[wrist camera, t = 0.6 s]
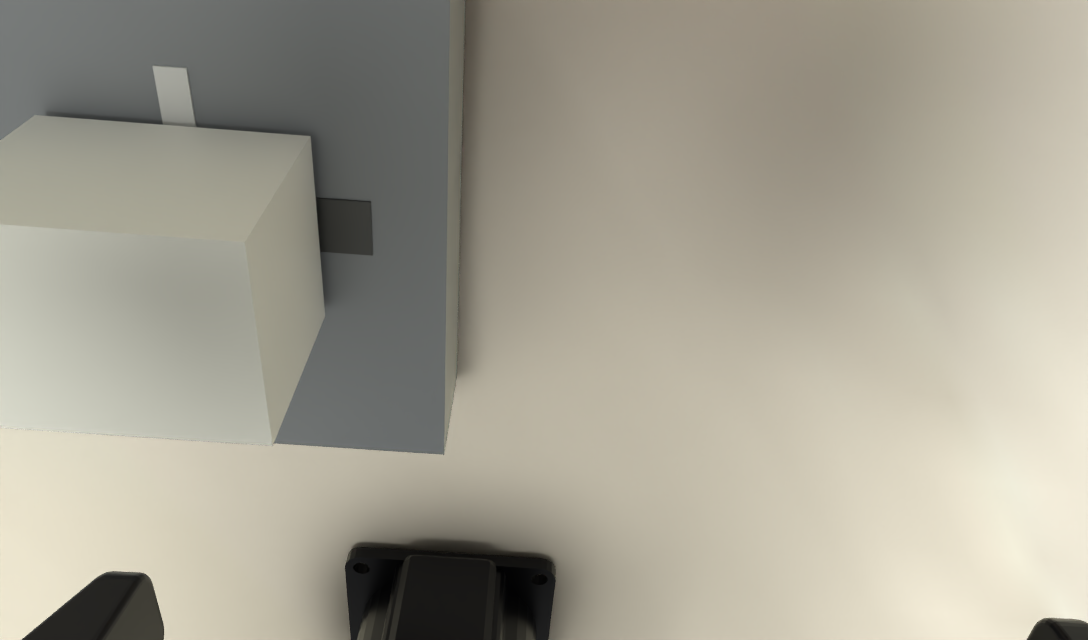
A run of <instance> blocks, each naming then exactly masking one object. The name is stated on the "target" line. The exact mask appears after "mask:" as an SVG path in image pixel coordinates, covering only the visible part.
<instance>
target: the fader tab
mask: <svg viewBox="0 0 1088 640" xmlns="http://www.w3.org/2000/svg"><path fill="white" fill-rule="evenodd" d="M324 318H325V307H324V295H323V283H322V271H321V258H320V246H319V234H318V221H317V209H316V197H315V185H314V172H313V160H312V148H311V136H303V135H290V134H277V133H264V132H251V131H238V130H225V129H211V128H198V127H185V126H172V125H159V124H146V123H133V122H120V121H107V120H94V119H81V118H68V117H54V116H41V115H34V116H33V117H32V118H30V119H29V120H28V121H26V122H25V123H23V124H22V125H21V126H19V127H18V128H17V129H15V130H14V131H12V132H11V133H10V134H8V135H7V136H6V137H4V138H3V139H2V140H0V428H10V429H25V430H40V431H55V432H70V433H85V434H101V435H116V436H131V437H146V438H161V439H176V440H191V441H206V442H221V443H236V444H251V445H266V446H273V444H274V441H275V439H276V436H277V434H278V431H279V429H280V427H281V424H282V422H283V419H284V417H285V414H286V412H287V409H288V407H289V404H290V402H291V399H292V397H293V394H294V392H295V389H296V387H297V384H298V382H299V380H300V377H301V375H302V372H303V370H304V367H305V365H306V362H307V360H308V357H309V355H310V352H311V350H312V347H313V345H314V342H315V340H316V337H317V335H318V332H319V330H320V328H321V325H322V323H323V320H324Z"/></svg>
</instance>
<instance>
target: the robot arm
mask: <svg viewBox="0 0 1088 640" xmlns="http://www.w3.org/2000/svg"><path fill="white" fill-rule="evenodd" d="M364 563H365V564H364ZM345 572H346V584H347V596H348V608H349V620H350V633H351V640H548V637H549V629H550V621H551V613H552V605H553V597H554V589H555V581H556V570H555V566H554V564H553V563H552V562H550V561H548V560H546V559H541V558H526V557H510V556H494V555H478V554H463V553H447V552H431V551H415V550H400V549H384V548H368V547H359V548H355V549H352V550H351V551H350V552H349V554H348V558H347V561H346V566H345ZM539 574H540V575H539ZM22 640H164V626H163V621H162V617H161V613H160V610H159V606H158V602H157V599H156V595H155V591H154V588H153V584H152V581H151V579H150V578H149V577H148V576H147V575H146V574H144V573H137V572H117V571H112V572H106V573H104V574H102V575H100V576H98V577H97V578H96V579H94V580H93V581H92V582H91V583H89V584H88V585H87V586H86V587H85V588H83V589H82V590H81V591H80V592H79V593H77V594H76V595H75V596H74V597H73V598H71V599H70V600H69V601H68V602H67V603H65V604H64V605H63V606H62V607H61V608H59V609H58V610H57V611H56V612H54V613H53V614H52V615H51V616H50V617H48V618H47V619H46V620H45V621H44V622H42V623H41V624H40V625H39V626H38V627H36V628H35V629H34V630H33V631H32V632H30V633H29V634H28V635H27V636H25V637H24V638H23V639H22ZM1027 640H1088V623H1086V622H1084V621H1081V620H1077V619H1062V618H1044V619H1042V620H1040V621H1039V622H1037V623H1036V625H1035V626H1034V628H1033V629H1032V631H1031V633H1030V635H1029V637H1028V638H1027Z"/></svg>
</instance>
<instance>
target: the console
mask: <svg viewBox="0 0 1088 640" xmlns="http://www.w3.org/2000/svg"><path fill="white" fill-rule="evenodd" d="M464 34H465V0H0V140H2V139H3V138H4V137H6V136H7V135H8V134H10V133H11V132H12V131H14V130H15V129H17V128H18V127H19V126H21V125H22V124H23V123H25V122H26V121H28V120H29V119H30V118H32V117H33V116H34V115H41V116H54V117H68V118H81V119H94V120H107V121H120V122H133V123H146V124H159V125H172V126H185V127H198V128H211V129H225V130H238V131H251V132H264V133H277V134H290V135H303V136H311V148H312V160H313V172H314V185H315V197H316V209H317V221H318V234H319V246H320V258H321V271H322V283H323V295H324V307H325V318H324V320H323V323H322V325H321V328H320V330H319V332H318V335H317V337H316V340H315V342H314V345H313V347H312V350H311V352H310V355H309V357H308V360H307V362H306V365H305V367H304V370H303V372H302V375H301V377H300V380H299V382H298V384H297V387H296V389H295V392H294V394H293V397H292V399H291V402H290V404H289V407H288V409H287V412H286V414H285V417H284V419H283V422H282V424H281V427H280V429H279V431H278V434H277V436H276V439H275V441H274V443H278V444H293V445H308V446H323V447H338V448H353V449H368V450H383V451H398V452H413V453H428V454H443V455H444V453H445V447H446V440H447V434H448V428H449V422H450V416H451V410H452V404H453V397H454V391H455V385H456V379H457V345H458V300H459V256H460V212H461V167H462V123H463V78H464Z"/></svg>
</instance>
